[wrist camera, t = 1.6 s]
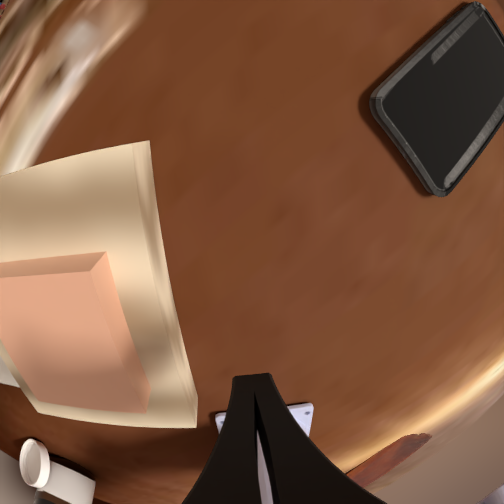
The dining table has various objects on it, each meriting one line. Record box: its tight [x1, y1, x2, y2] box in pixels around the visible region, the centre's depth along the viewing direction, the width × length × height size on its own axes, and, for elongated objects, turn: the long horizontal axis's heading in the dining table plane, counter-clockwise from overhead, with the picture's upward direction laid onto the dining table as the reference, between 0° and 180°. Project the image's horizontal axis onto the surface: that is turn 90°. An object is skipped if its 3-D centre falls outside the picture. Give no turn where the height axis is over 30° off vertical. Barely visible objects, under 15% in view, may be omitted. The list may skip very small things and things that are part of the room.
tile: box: [0, 251, 151, 414], centre depth 13 cm, size 9×8×2 cm
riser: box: [0, 141, 198, 428], centre depth 15 cm, size 18×14×3 cm
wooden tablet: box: [346, 433, 432, 488], centre depth 32 cm, size 27×10×2 cm, turn 146°
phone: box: [369, 1, 504, 197], centre depth 13 cm, size 8×1×15 cm
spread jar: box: [20, 439, 95, 504], centre depth 21 cm, size 12×11×12 cm
